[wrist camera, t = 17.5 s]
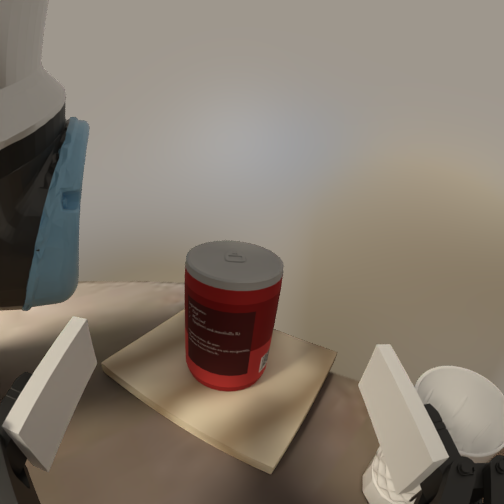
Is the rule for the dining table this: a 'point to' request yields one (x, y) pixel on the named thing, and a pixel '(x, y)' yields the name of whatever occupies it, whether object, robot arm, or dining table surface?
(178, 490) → the dining table surface
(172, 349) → the cutting board
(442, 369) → the white cup
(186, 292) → the canned food
